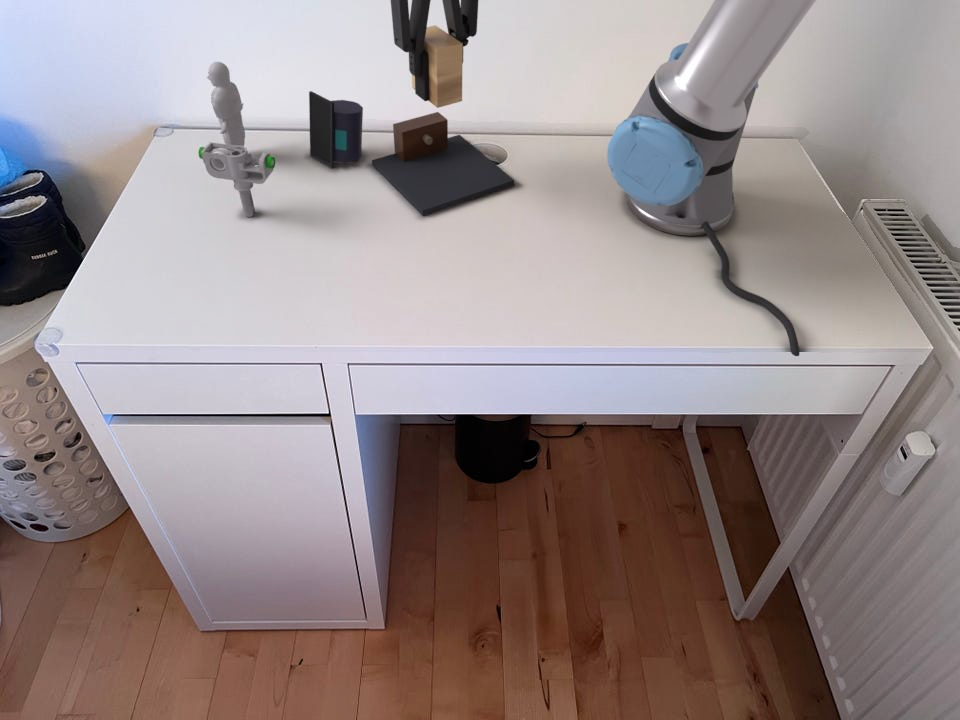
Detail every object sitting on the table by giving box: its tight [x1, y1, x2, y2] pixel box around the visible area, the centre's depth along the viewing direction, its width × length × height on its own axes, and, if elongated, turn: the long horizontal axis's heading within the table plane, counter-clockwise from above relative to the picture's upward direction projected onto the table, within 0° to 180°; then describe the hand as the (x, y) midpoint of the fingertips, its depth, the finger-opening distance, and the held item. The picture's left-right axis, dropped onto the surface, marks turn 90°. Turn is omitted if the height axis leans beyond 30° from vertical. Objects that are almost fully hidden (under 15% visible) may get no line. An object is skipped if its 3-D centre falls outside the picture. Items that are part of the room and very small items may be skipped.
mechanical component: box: [198, 141, 277, 218], centre depth 103 cm, size 3×10×10 cm, turn 78°
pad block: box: [411, 24, 464, 109], centre depth 102 cm, size 7×4×8 cm, turn 33°
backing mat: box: [371, 134, 515, 217], centre depth 115 cm, size 16×16×1 cm
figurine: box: [206, 61, 246, 147], centre depth 112 cm, size 9×4×15 cm, turn 174°
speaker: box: [308, 90, 364, 170], centre depth 114 cm, size 8×6×10 cm
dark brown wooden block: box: [392, 111, 449, 162], centre depth 116 cm, size 4×8×5 cm, turn 123°
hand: (437, 92), depth 104 cm, fingers closed on pad block, 4 cm apart
